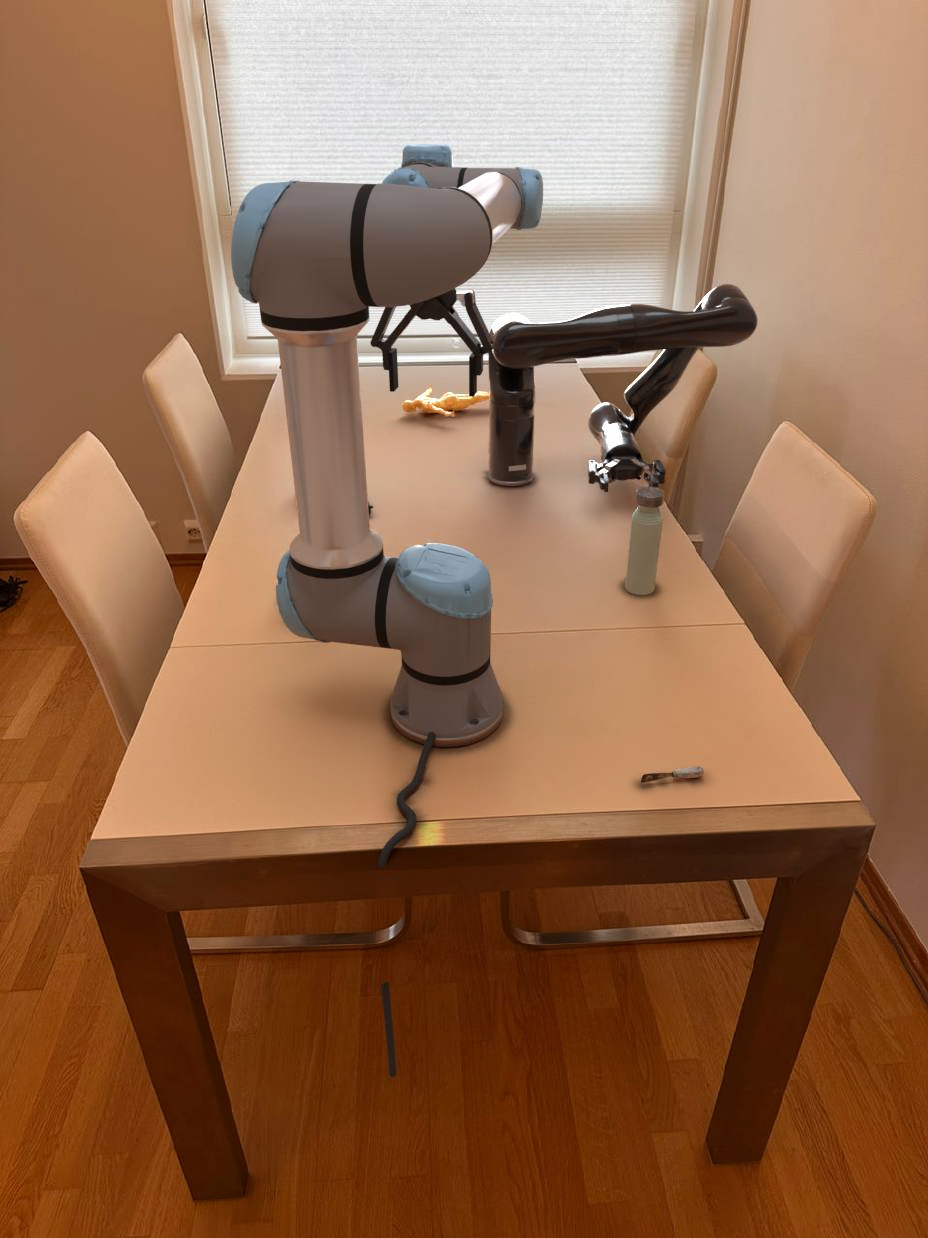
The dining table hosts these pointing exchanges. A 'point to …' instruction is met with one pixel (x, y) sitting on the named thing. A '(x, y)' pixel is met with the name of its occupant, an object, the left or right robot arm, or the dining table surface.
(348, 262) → the left robot arm
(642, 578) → the bottle
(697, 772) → the putty knife
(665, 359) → the right robot arm
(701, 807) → the dining table surface
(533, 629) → the dining table surface
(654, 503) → the cap
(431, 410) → the human figure
